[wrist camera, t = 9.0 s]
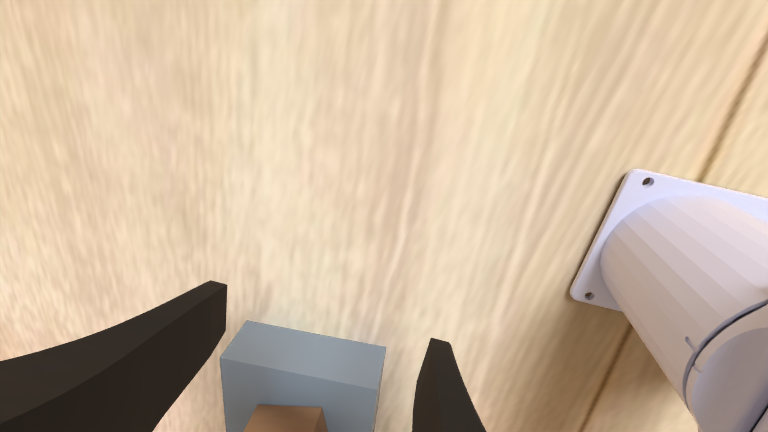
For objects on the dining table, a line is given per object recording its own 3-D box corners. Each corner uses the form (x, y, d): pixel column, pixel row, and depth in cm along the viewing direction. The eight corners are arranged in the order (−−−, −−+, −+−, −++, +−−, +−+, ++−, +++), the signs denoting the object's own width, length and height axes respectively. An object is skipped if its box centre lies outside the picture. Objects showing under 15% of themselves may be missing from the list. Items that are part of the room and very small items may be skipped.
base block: (386, 343, 27) (377, 389, 23) (372, 439, 31) (363, 491, 27) (249, 317, 28) (219, 357, 24) (253, 414, 32) (228, 461, 28)
